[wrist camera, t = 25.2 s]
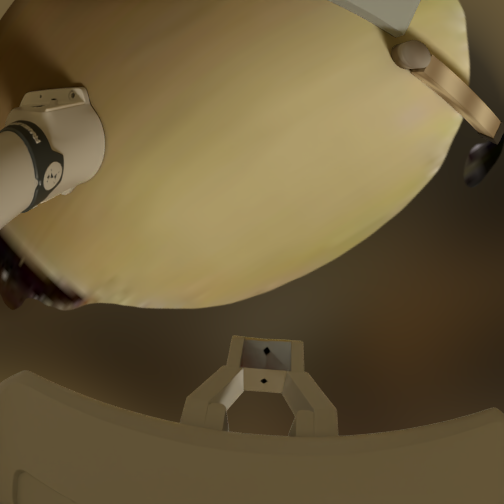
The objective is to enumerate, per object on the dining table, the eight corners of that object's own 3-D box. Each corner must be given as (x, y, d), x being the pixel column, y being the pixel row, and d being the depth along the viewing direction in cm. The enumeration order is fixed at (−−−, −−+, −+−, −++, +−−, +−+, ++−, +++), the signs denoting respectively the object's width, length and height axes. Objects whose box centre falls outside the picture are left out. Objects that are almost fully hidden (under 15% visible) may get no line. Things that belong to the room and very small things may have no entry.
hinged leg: (387, 58, 26) (400, 56, 22) (397, 39, 24) (410, 34, 21) (481, 138, 29) (498, 145, 25) (490, 120, 27) (507, 126, 23)
